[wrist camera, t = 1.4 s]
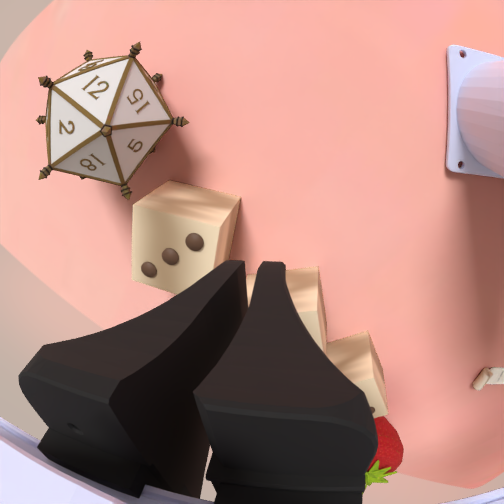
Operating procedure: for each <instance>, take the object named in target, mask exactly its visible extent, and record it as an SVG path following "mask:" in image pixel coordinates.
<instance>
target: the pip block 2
mask: <svg viewBox="0 0 504 504" xmlns="http://www.w3.org/2000/svg"><path fill="white" fill-rule="evenodd" d="M326 356H327V357H328V358H329V359H330V361H331V362H332V363H333V364H334V365H335V366H336V367H337V368H338V369H339V370H340V371H341V372H342V373H343V374H344V375H345V376H346V377H347V378H348V379H349V380H350V381H352V382H353V383H354V384H355V385H356V386H357V387H359V388H360V389H361V390H362V391H363V392H364V393H365V395H366V398H367V400H368V403H369V405H370V408H371V411H372V414H373V417H374V418H377V417H380V416H384V415H388V406H387V398H386V390H385V382H384V375H383V369H382V366H381V363H380V361H379V358H378V355H377V353H376V350H375V348H374V345H373V342H372V340H371V337H370V335H369V332H368V330H367V331H364V332H361V333H358V334H355V335H352V336H349V337H346V338H342V339H339V340H336V341H333V342H329V343H326Z"/></svg>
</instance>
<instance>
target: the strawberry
mask: <svg viewBox="0 0 504 504" xmlns="http://www.w3.org/2000/svg"><path fill="white" fill-rule="evenodd" d="M374 421H375V425H376V430H377V435H378V449H377V453H376V455H375V457H374V459H373V460H372V462H371V464H370V466H369V468H368V470H367V471H366V473H365V483H366V486H365V489H366V487H367V485H371V484H372V482H377V483H388V481H387V480H386V479H384V478H383V477H385V476H388V475H392V474H395V473H397V471H395V470H396V469H397V467H398V466H399V465H400V464H401V462H402V458H403V450H404V448H403V445H402V442H401V440H400V438H399V435H398V433H397V431H396V430H395V429H394V427H393V426H392V425H391V424H390V423H389V422H388V420H387V419H386V418H385V417H384V416H380V417H377V418H374ZM393 471H395V472H393ZM363 493H364V492H363ZM363 493H362V495H363Z"/></svg>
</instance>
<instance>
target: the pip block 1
mask: <svg viewBox="0 0 504 504" xmlns="http://www.w3.org/2000/svg"><path fill="white" fill-rule="evenodd" d="M240 199H241V197H240V196H236V195H232V194H227V193H223V192H219V191H215V190H211V189H206V188H202V187H198V186H193V185H189V184H185V183H180V182H176V181H171V180H169V181H167V182H166V183H164V184H163V185H161V186H160V187H158V188H157V189H155V190H154V191H152V192H151V193H149V194H148V195H146V196H145V197H143V198H142V199H140V200H139V201H138V202H136V203H135V204H133V214H132V280H134V281H137V282H140V283H143V284H146V285H149V286H152V287H155V288H158V289H161V290H165V291H168V292H171V293H174V294H177V295H178V294H179V293H181V292H182V291H184V290H185V289H187V288H188V287H190V286H191V285H193V284H194V283H195V282H197V281H198V280H199V279H201V278H202V277H204V276H205V275H206V274H208V273H209V272H210V271H212V270H213V269H214V268H216V267H217V266H218V265H220V264H221V263H223V262H224V261H226V260H229V257H230V251H231V246H232V241H233V236H234V230H235V225H236V220H237V215H238V210H239V205H240Z"/></svg>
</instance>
